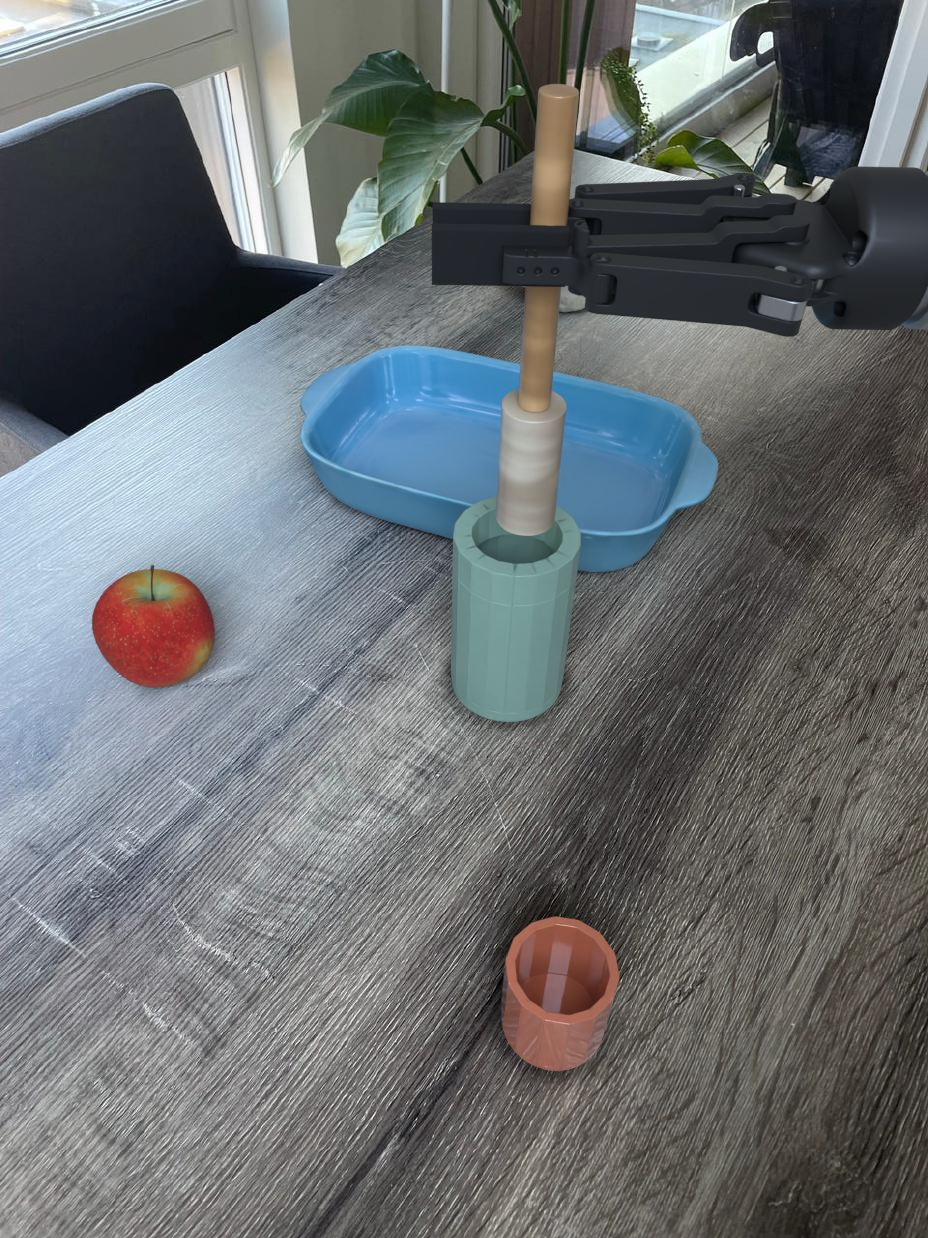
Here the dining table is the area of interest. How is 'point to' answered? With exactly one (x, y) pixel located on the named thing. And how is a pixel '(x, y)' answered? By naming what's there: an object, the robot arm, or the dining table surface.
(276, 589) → the dining table surface
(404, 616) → the dining table surface
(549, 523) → the tan long rod
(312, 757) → the dining table surface
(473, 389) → the casserole dish
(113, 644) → the apple
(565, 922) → the cup
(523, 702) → the green cylindrical holder
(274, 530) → the dining table surface
